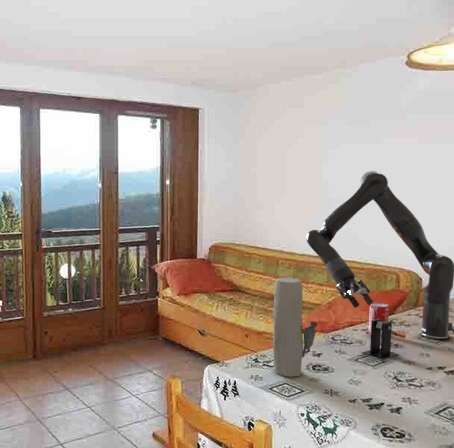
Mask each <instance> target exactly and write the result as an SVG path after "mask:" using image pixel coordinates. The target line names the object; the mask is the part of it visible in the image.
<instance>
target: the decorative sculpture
mask: <svg viewBox="0 0 454 448" xmlns="http://www.w3.org/2000/svg"><path fill="white" fill-rule="evenodd" d="M274 281H275V282H274V295H273V305H272V307H273V308H272V309H273V310H272V318H273V320H272V321H273V324H272V325H273V331H272V332H273V339H272V353H273V355H272V357H273V358H272V359H273V367H274V371H275V372H276V374H278V375H281V376H284V377H291V378H292V377H299V376H301V373H302V361H303V359H304V357H305V354H306V352H310V350H311V347H312V346H313V344H314V341H315V337H316V332H317V331H316V328H317V327H318V322H317V321H313V320H311V321H309V320H305V322H306V323H308V324H309V326H307V327H305V328H303V305H304V303H303V282H302V280H301V279H299V278H293V277H279V278H276V279H275V280H274Z"/></svg>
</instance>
